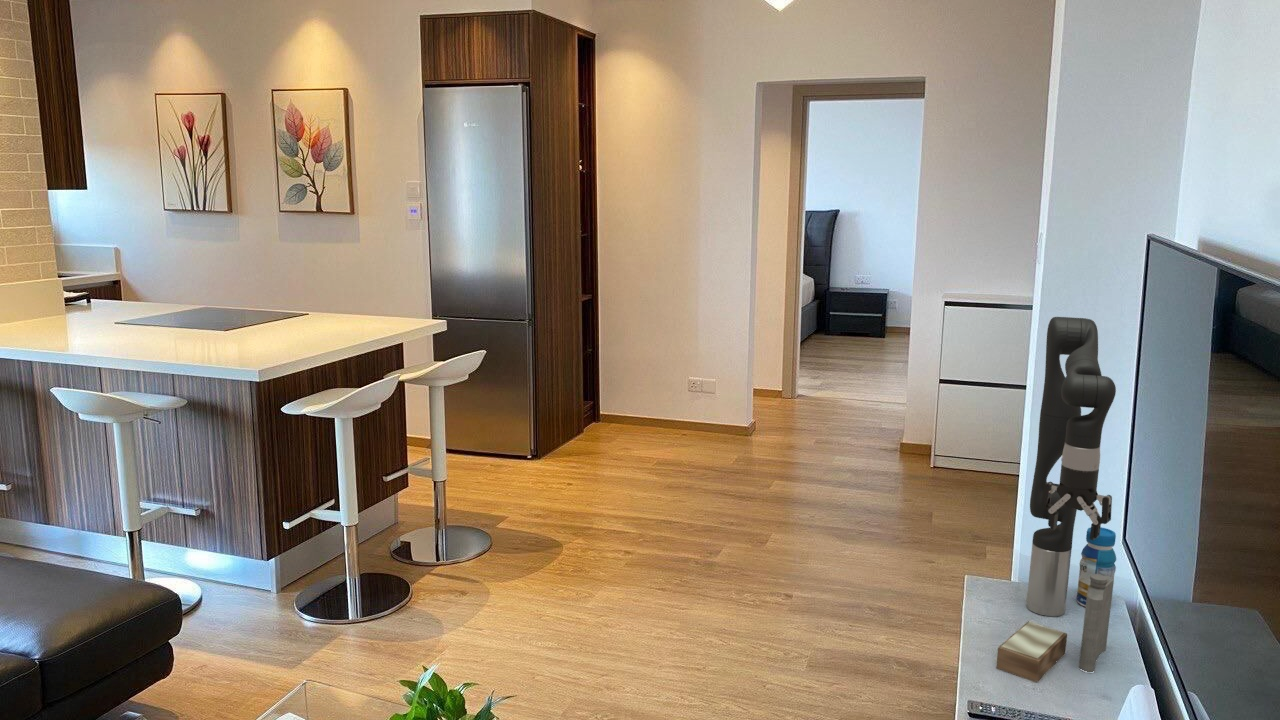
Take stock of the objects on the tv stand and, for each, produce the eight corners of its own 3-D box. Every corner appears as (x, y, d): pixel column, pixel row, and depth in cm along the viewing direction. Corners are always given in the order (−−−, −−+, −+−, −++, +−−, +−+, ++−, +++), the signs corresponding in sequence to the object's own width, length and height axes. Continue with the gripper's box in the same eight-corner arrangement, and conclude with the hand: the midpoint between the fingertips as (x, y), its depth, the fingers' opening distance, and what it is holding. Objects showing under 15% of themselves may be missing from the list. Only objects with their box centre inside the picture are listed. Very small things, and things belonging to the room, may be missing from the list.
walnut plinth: (1026, 640, 228) (1028, 620, 227) (1065, 653, 222) (1067, 632, 222) (996, 668, 215) (998, 646, 214) (1036, 682, 209) (1039, 660, 208)
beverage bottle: (1109, 614, 244) (1117, 539, 240) (1073, 605, 248) (1081, 532, 244) (1113, 602, 251) (1121, 529, 247) (1078, 594, 255) (1086, 522, 251)
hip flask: (1092, 674, 213) (1102, 590, 209) (1073, 669, 215) (1082, 585, 212) (1106, 647, 226) (1116, 567, 222) (1088, 642, 228) (1097, 563, 224)
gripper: (1120, 467, 208) (1112, 537, 211) (1053, 453, 217) (1046, 521, 220) (1108, 475, 202) (1100, 547, 205) (1040, 460, 212) (1034, 530, 215)
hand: (1072, 533), depth 213 cm, fingers open, 8 cm apart
